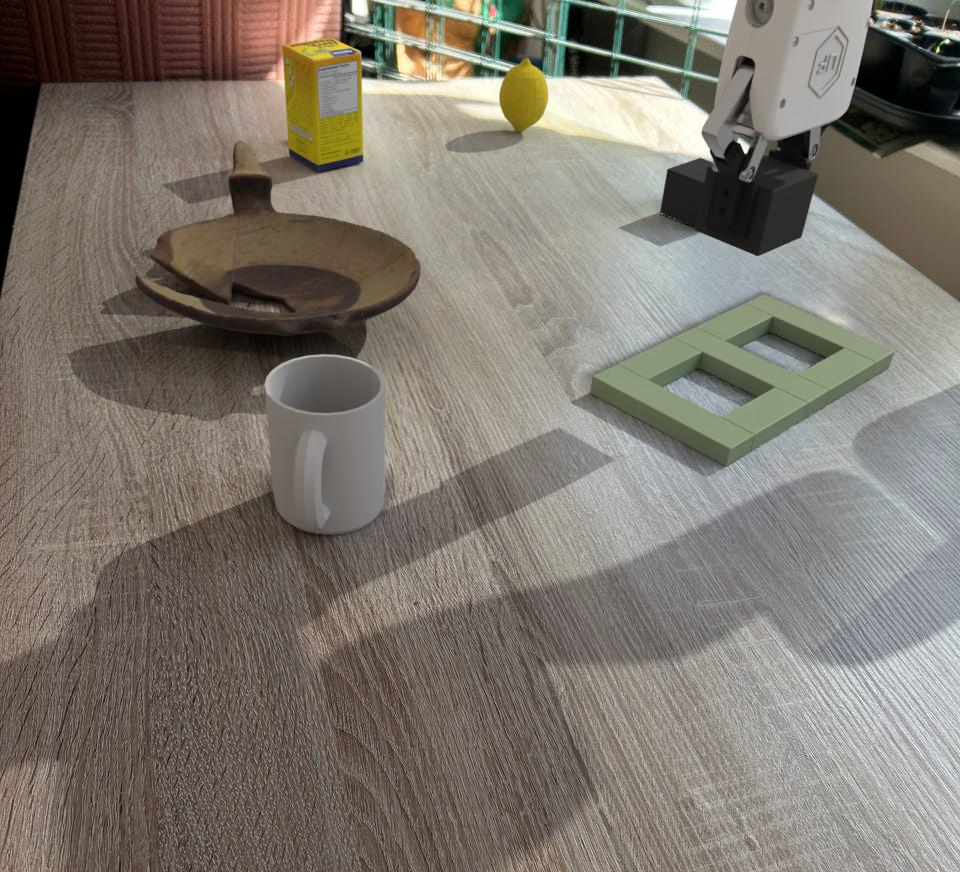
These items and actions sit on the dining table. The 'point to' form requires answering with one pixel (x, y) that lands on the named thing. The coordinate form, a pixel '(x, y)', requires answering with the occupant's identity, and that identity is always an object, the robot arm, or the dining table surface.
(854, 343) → the base board
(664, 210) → the black square block
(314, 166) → the supplement box
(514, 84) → the fruit
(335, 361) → the cup
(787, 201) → the black block
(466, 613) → the dining table surface
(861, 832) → the dining table surface
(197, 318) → the broken clay pan
